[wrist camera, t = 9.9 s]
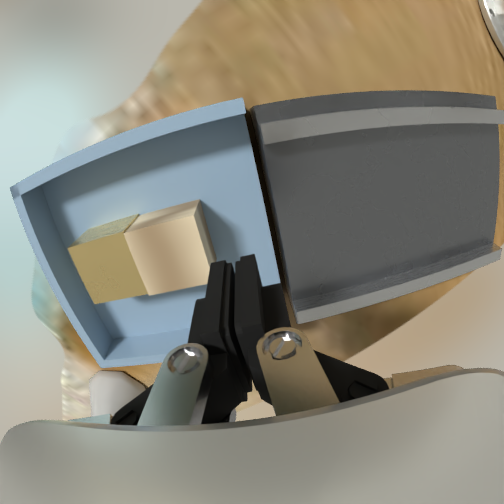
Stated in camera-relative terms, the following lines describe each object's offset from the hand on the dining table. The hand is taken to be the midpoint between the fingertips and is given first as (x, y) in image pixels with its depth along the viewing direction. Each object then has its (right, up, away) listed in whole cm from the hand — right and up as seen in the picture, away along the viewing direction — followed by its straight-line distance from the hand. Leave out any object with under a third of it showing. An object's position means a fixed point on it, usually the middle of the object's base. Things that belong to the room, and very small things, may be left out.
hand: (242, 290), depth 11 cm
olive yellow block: (-8, +2, +7) cm, 11 cm away
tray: (-6, +3, +9) cm, 11 cm away
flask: (-14, -14, +17) cm, 26 cm away
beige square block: (-4, +2, +7) cm, 8 cm away
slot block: (+10, +6, +9) cm, 15 cm away
